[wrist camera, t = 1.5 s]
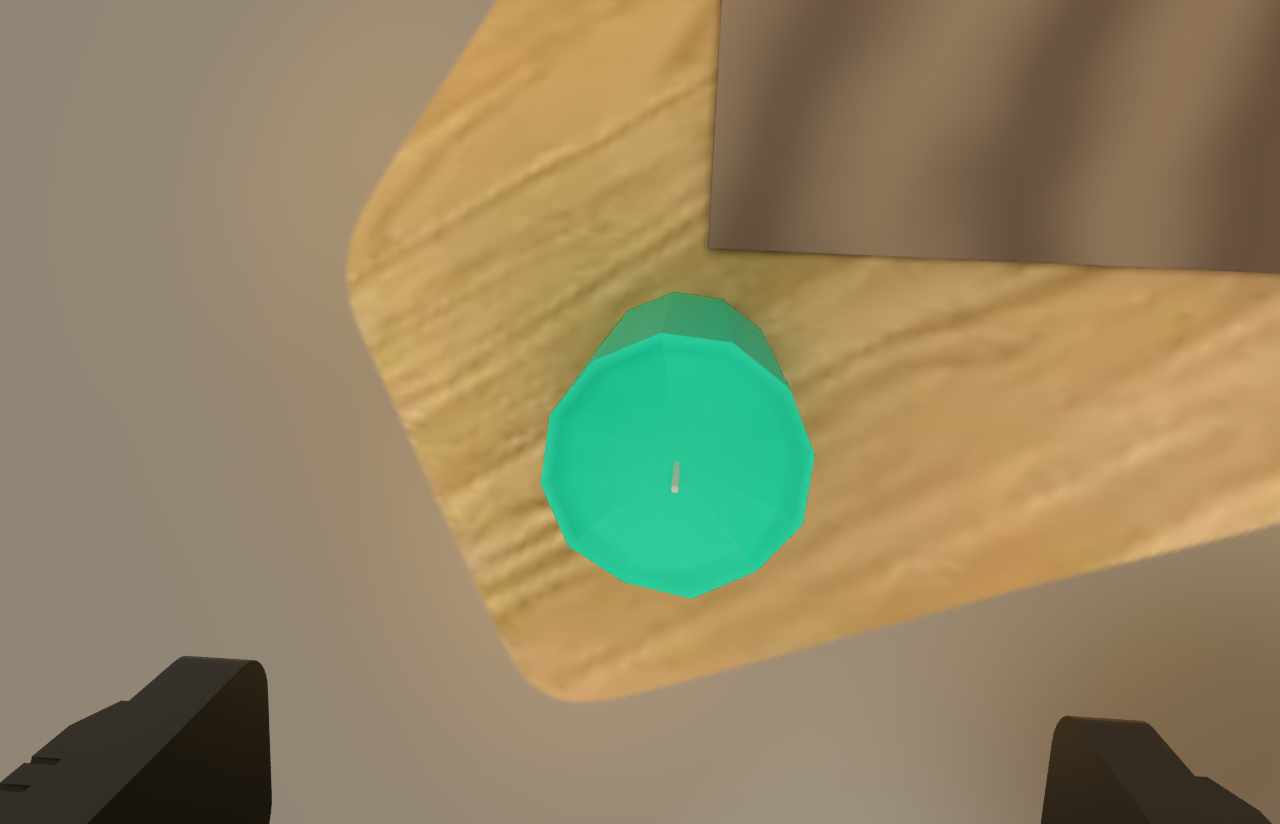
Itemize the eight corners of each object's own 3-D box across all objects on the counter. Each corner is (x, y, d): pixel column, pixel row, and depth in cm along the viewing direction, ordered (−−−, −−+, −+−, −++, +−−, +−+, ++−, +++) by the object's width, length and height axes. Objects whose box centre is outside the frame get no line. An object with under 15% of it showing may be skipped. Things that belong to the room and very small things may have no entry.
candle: (553, 365, 32) (468, 458, 20) (704, 252, 31) (707, 280, 19) (665, 511, 33) (645, 680, 21) (816, 405, 32) (883, 521, 20)
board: (1429, -8, 28) (1455, -16, 27) (1375, 276, 30) (1398, 278, 29) (723, -29, 29) (723, -37, 28) (708, 246, 31) (708, 247, 30)
